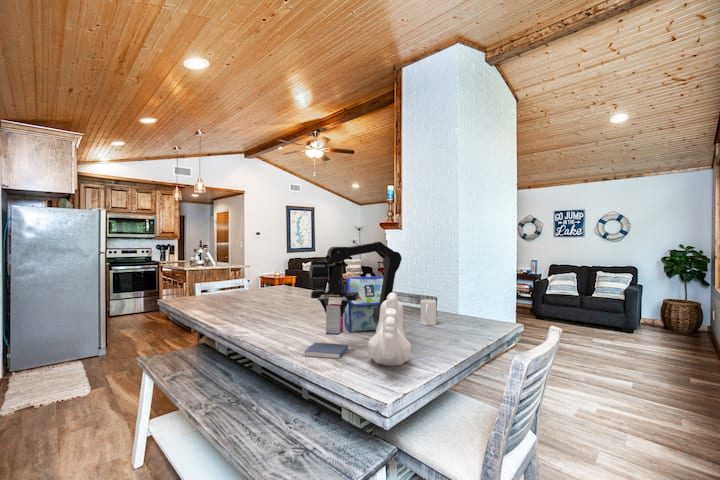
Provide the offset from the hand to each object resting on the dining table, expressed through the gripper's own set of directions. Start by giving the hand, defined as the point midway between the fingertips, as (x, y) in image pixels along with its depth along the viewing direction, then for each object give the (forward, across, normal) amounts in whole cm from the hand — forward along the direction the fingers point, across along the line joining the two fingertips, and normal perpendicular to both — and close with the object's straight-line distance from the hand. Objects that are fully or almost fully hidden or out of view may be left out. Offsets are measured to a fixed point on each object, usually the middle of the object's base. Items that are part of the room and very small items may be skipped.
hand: (334, 316), depth 140 cm
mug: (+13, -34, -52) cm, 64 cm away
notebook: (+14, +2, +5) cm, 14 cm away
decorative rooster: (+13, -24, +12) cm, 30 cm away
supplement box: (+7, 0, 0) cm, 7 cm away
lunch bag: (+13, -6, -36) cm, 38 cm away
